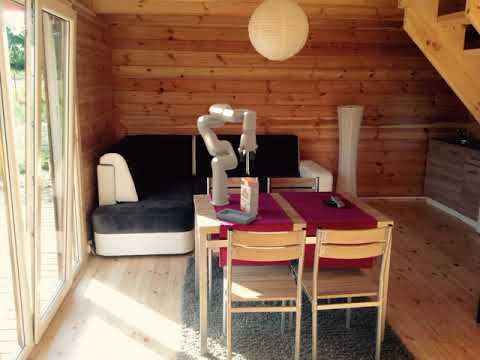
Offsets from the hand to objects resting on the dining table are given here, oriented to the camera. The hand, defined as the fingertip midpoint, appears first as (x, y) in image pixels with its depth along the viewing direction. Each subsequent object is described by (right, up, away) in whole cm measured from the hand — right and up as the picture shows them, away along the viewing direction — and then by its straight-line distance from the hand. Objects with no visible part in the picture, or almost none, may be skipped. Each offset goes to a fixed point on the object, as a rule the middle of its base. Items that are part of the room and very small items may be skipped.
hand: (247, 160), depth 270 cm
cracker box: (+1, -32, +12) cm, 34 cm away
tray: (-7, -34, -1) cm, 35 cm away
